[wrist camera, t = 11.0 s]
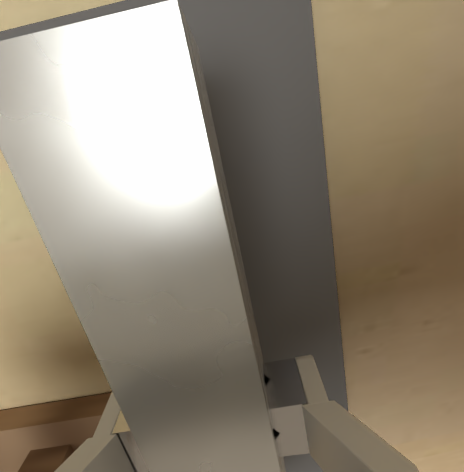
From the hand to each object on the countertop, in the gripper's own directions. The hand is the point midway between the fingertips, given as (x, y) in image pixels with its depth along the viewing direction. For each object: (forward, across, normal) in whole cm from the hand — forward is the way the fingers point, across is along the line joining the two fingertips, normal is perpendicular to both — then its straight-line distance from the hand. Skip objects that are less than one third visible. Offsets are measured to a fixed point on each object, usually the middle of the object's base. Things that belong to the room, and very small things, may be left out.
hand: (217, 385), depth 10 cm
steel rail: (+1, 0, 0) cm, 1 cm away
